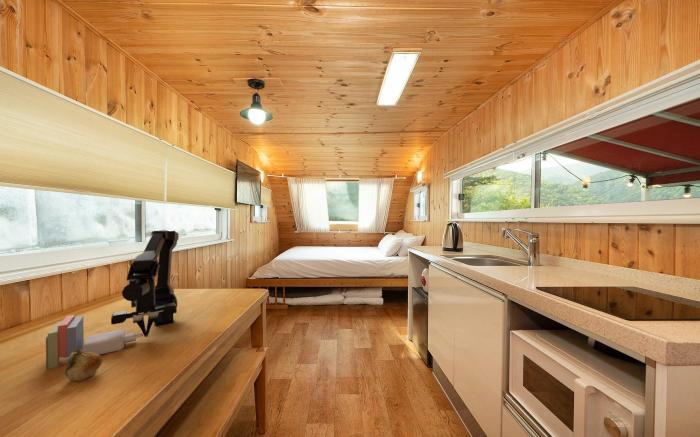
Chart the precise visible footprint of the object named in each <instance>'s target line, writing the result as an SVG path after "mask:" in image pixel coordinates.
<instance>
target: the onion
mask: <svg viewBox="0 0 700 437" xmlns="http://www.w3.org/2000/svg"><path fill="white" fill-rule="evenodd" d="M59 361H60V362H65V363H68V362H69V364H68V365H66V367H65V370H64V371H65V372H64V374H65V377H66V378H67V379H68V380H70V381H72V382H79V381H83V380H84V381H85V380H86V379H88V378H90V377H92V376H94V375H95V374H96V372H99V369H100V367H101V366H102V364H103V361H104V360H103V358H102V356H101V355H99V354H98V353H94V352H84V351H82V350H81V349H80V350H75V352H72V353H71V355H70V357H68V358H59Z"/></svg>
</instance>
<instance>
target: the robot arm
mask: <svg viewBox="0 0 700 437" xmlns="http://www.w3.org/2000/svg"><path fill="white" fill-rule="evenodd" d="M150 235H151V236H150V238H149V241H148V242H147V244H146V246H145V248H144V250H143V251H142V253H140V254H138V255H137V256H136V257H135V258H134V259H133V261H132V262H131V264H130V267H129V270H128V274H127V277H126V281H128V282H129V283H128V284H127V285H125V286H124V287H123V289H122V291H121V296H122V298H123V299H124V300H126V301H128V302H130V304H131V305H130V306H131V308H135V311H132V312H131V311H130V312H128V311H127V310H119V311H114V312H113V313H112V315H111V317H110V322H111V323H110V324H111V325H116V324H117V325H118V324H123V323H125V322H126V320H127V319H132V323H133V324H136V325H138V327H139V328H140V330H141V333H143V336H144V338H147V337H148V336H149V333H150V331H151V327H152V325H153V324H154V325H155V326H161V325H167V324H172V323H174V322H175V321H174V314H177V313H178V311H177V310H178V298H177V296H176V294H175V289H174V287H173V286H172V285H171V275H172V274H171V273H172V272H171V271H172V255H173V250H174V249H175V248H176V246H177V244H178V241H179V237H180V236H179V235H180V234H179V232H177V231H176V230H168V229H166V230H165V229H155V230H152V231H151V234H150ZM155 278H157V280H155ZM144 316H147V323H145V317H144Z"/></svg>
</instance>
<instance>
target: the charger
mask: <svg viewBox="0 0 700 437" xmlns="http://www.w3.org/2000/svg"><path fill="white" fill-rule="evenodd" d="M143 336H144V334H143V332H141V333H139V334H136V332H135V331H134V332H131V333H126V334H125V330H123V329H119V330H113V331H109V332H103V333H98V334H92V335H87V337H86V340H85V342H84V349H83V352H94V353H98V354H99V355H100V356H101V355H104V354H108V353H113V352H118V351H120V350H123V349H124V348H125V344H127V343H133V342H136V339H137V338H139V337H140V338H141V337H143Z"/></svg>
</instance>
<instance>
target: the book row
mask: <svg viewBox="0 0 700 437" xmlns="http://www.w3.org/2000/svg"><path fill="white" fill-rule="evenodd" d="M84 328H85V327H84V316H82V315H81V316H76V315H75V314H71V315H66V316H65V318H63V319H62V320H61V321H57V323H56V324H54V326H53V327H52V329H51V330H49V332H48V333H47V336H46V337H45V361H46V362H45V363H46V364H45V366H46V368H45V369H55V368H58V367H60V366H65V365H66V366H68V364H69V362H68V363H65V362H60V361H59V358H68V357H70V355H71V353H72V352H75V350H80V349H81V350H82V352H84V344H85V342H84V340H85V339H84V338H85V336H84V334H85V333H84V332H85V331H84Z"/></svg>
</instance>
